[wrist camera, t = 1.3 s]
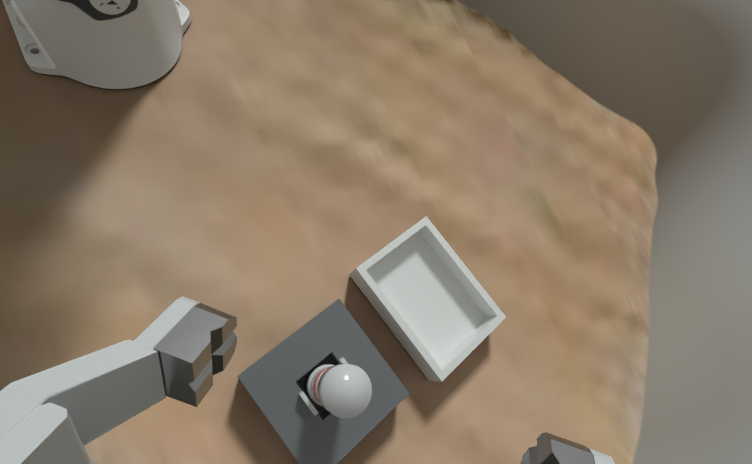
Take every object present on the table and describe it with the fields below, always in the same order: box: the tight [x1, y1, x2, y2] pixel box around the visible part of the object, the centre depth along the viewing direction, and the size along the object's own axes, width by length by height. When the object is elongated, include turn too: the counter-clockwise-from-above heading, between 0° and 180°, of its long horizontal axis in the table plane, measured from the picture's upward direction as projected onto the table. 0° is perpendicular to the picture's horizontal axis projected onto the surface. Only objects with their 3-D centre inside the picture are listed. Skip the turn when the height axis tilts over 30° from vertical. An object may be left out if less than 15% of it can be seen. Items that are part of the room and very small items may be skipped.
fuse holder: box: [237, 299, 409, 464], centre depth 39 cm, size 12×12×5 cm
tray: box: [350, 216, 506, 382], centre depth 46 cm, size 15×11×4 cm
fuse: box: [305, 364, 372, 419], centre depth 35 cm, size 4×4×12 cm
